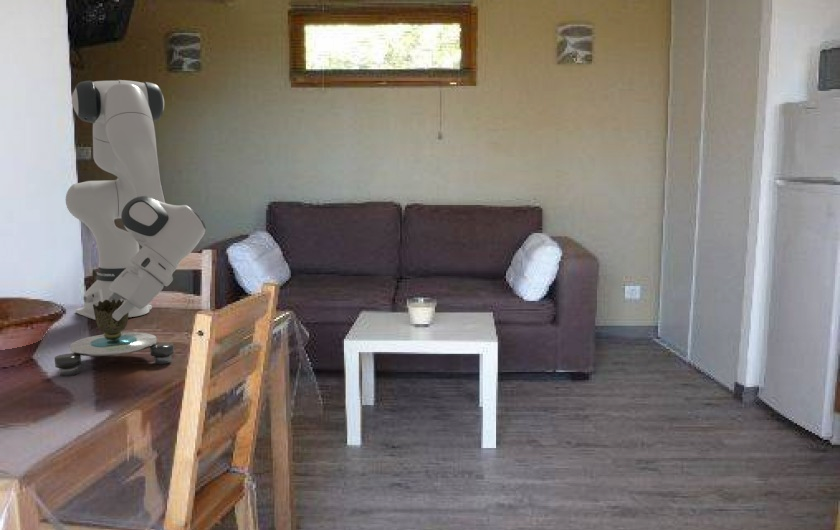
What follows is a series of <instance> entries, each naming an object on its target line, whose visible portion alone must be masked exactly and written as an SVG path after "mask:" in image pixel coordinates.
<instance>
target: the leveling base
mask: <svg viewBox="0 0 840 530" xmlns="http://www.w3.org/2000/svg"><path fill="white" fill-rule="evenodd" d="M121 333H122V335H121V337H120V338H118V339H115V340H108V339H106V338H105V337H104V333H102V334H98V335H92V336H88V337H83V338H81V339H78V340H76V341H73V342H72V343H71V344H70V345H69V351H70V352H71V353H63V354H60V355H59V354H58V355H57V356H54V365H55V368H57V369H58V373H59V376H60V377H72V376H73V377H74V376H76V375H78V374H79V366H80V365H81V364H82V356H83V357H84V356H86V357H109V356H119V355H126V354H131V353H135V352H140V351H144V350H146V349H149V351H150V352H149V353H150V356H152V357H153V359H154V362H153V363H154V365H161V366H162V365H167V364H171V363H172V355H174V354H175V344H174V343H171V342H161V343H157V341H158V340H157V339H158V338H157V336H156V335H154V334H151V333H146V332H136V331H135V332H132V331H131V332H129V331H128V332H127V331H122V332H121Z"/></svg>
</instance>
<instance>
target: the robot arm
mask: <svg viewBox="0 0 840 530" xmlns="http://www.w3.org/2000/svg"><path fill="white" fill-rule="evenodd" d="M71 103H72V107H73V110H74V112H75V114H76V116H77V118H78V119H80V120H81V121H82V122H86V123H90V124H92V157H93V160H94V164H96V166H97V167H98V168H100V169H101V170H102V171H105V172H106V173H108V174H109V173H110V174H112V175H113V176H115V177H117V178H116V179H114V180H111V179H110V180H106V179H105V180H86V181H83V182H78V183H74V184H72V185H71V186H70V187H69V188H68V190H66V191H67V192H66V195H65V205H66V208H67V210H68V212H69V213H70V214H71V215H72V216H73V217H74V218H76V219H77V220H79V221H81V222H82V224H84V225H85V227H87V228H88V229H89V230H90V232H91V233H92V235H93V237H94V240H95V242H96V247H97V254H98V264H99V265H98V268H95V269H94V271H95V272H94V273H95V274H96V278H95V279H96V281H94V283H93V284H91V286H90V287H89V288H88V289H87V290H86V291H85V292H84V294H83V306H82V307H79V308H76V309H75V313H76V314H79V315H81V316H83V317H86V318H89V319H92V320H94V321H96V319H95V314H94V308H93V307H94V305H96V306H98V302H99V301H101V302H103V301H104V300H109V301H110V302H112V300H115V302H117V301H118V300H121V302H122V300H124V302H123V303H122V305H121V306H120V307H119V308H118V309H117V310H115V311H114V312H113V313H112V314H111V317H113V318H114V319H115V320H117V321H119V320H120V319H121V318H122V317H123V316H124V315H125V314H127V313H128V312H129V315H128V318H132V317H133V318H134V317H139V316H144V315H146V314H148V313H150V310H152V309H153V306H152V304H150V303H151V302H152V301H153V300H154V299H155V297H156V296H158V295H159V294H160V292H162V290H163V289H164V286H165V287H168V286H169V285H170V284H171V283H172V282H173V280H174V278H173V274H174V272H175V271H176V270H177V269H178V267H179V265H180V263H181V262H182V261H183V260H184V259H185V258H187V257H188V256H189V255H190V254H191V253H192V252H193V250H194V249H195V248H196V247H197V246H198V244H199V243H200V241H201V240H202V239H203V238H204V236H205V233H206V230H207V229H206V228H207V227H206V224H205V222H204V221H203V219H202V218H201V216H200V215H199V214H198V212H196V210H194V209H193V208H192V207H190V206H189V205H187V204H180V205H179V204H178V205H176V204H170V203H167V202H166V198H165V197H166V196H165V192H164V189H163V184H162V180H161V175H160V168H159V159H158V151H157V149H158V148H157V139H156V138H157V137H156V129H155V123H154V122H157V121H159V120H160V119H161V118H162V116H163V113H164V110H165V99H164V94H163V93H162V89H161V88H160V87H159V85H157V84H156V83H153V82H149V81H142V82H140V81H135V80H125V79H123V80H122V79H117V80H96V81H92V80H85V81H80V82H78V83H77V84H76V85H75V87H74V90H73V92H72V96H71ZM118 219H121V222H122V225H123V227H124V228H125V229H122V228H119V227H118V226H116V223H115V220H118Z"/></svg>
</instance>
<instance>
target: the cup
mask: <svg viewBox="0 0 840 530" xmlns="http://www.w3.org/2000/svg"><path fill="white" fill-rule="evenodd" d="M123 302H124V300H122V302H121V300H118V301H117V302H115V300H112V302H110V301H109V300H104V301H103V302H101V301H99V302H98V306H96V305H94V307H93V308H94V314H95V319H96V320H95V324H96V326H97V328H98V330H99V331H100V332H102V334H104V337H105V338H106V339H108V340H115V339H118V338H120V337H121V335H122V333H123V332H124V330H125V329H126V328H127V326H128V322H129V317H128V315H129V312H128V313H127V314H125V315H124V316H123V317H122V318H121V319H120V320H119V321H117V320H115V319H114V318H113V317H111V314H112V313H113V312H114V311H115V310H117V309H118V308H119V307H120V306H121V305H122V303H123Z"/></svg>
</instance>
